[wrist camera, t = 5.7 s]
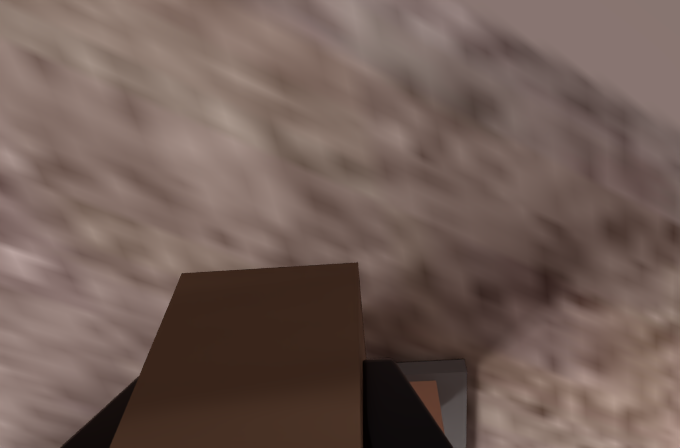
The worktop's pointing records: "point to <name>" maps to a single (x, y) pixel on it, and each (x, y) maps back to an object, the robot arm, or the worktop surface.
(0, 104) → the worktop surface
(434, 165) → the worktop surface
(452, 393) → the slate mat
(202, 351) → the walnut turner
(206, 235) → the worktop surface
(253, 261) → the worktop surface
